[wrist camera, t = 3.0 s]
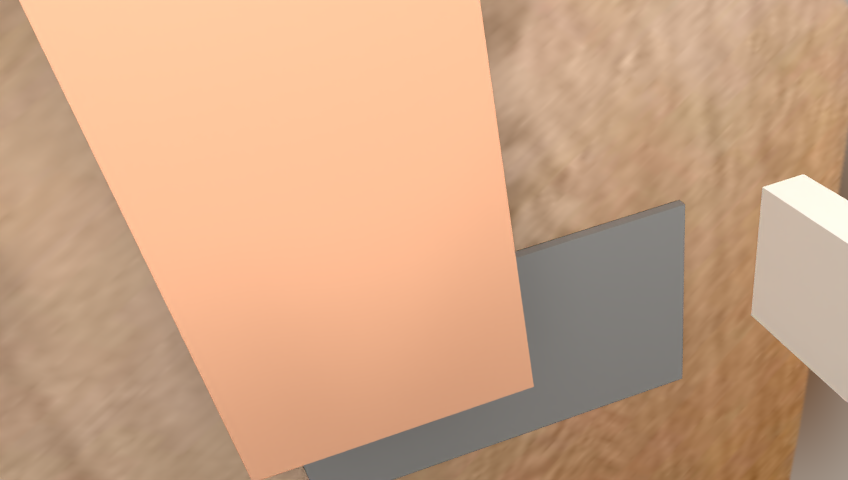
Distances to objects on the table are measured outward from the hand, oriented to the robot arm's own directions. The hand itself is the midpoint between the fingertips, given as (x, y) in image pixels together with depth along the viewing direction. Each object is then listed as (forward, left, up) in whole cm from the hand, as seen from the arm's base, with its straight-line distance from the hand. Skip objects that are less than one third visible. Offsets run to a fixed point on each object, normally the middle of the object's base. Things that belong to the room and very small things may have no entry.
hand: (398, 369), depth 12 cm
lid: (0, 0, -11) cm, 11 cm away
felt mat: (+6, -18, -19) cm, 27 cm away
